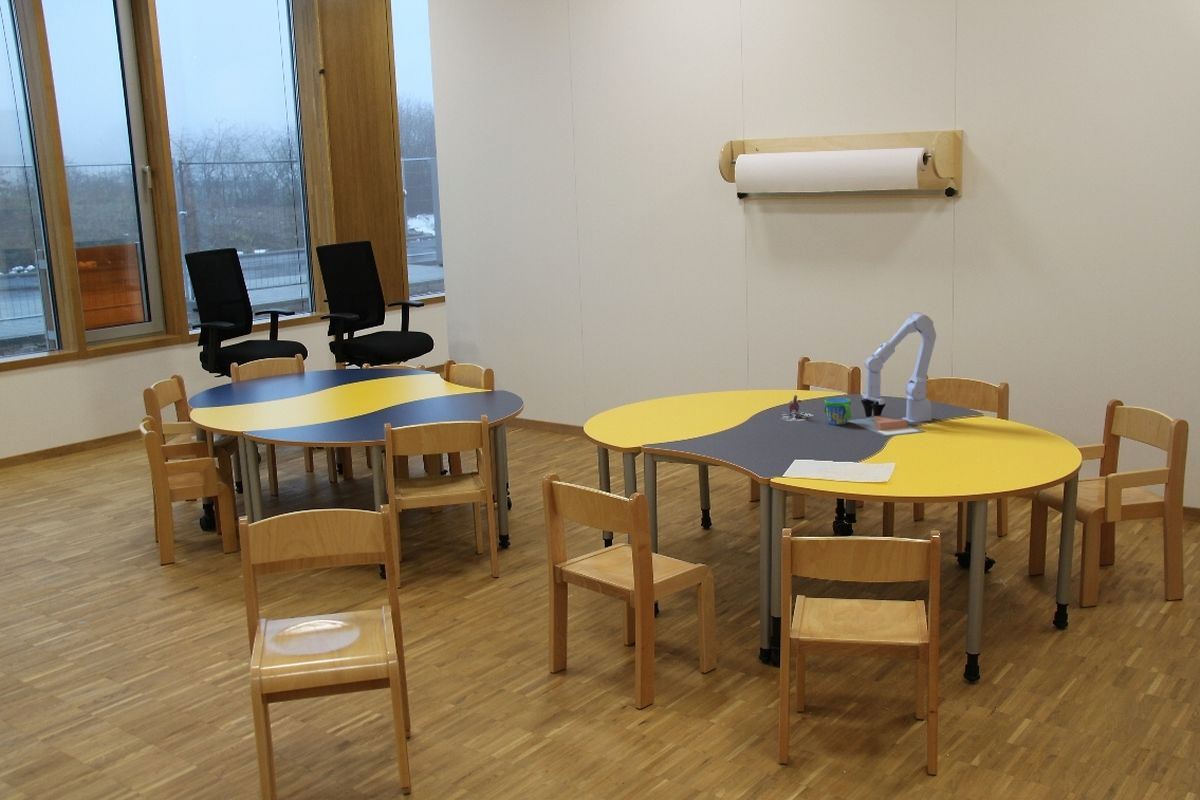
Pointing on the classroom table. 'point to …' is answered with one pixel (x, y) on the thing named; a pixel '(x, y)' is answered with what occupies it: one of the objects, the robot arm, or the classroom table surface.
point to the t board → (870, 425)
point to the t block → (889, 423)
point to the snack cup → (837, 410)
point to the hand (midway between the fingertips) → (872, 418)
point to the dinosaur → (794, 406)
